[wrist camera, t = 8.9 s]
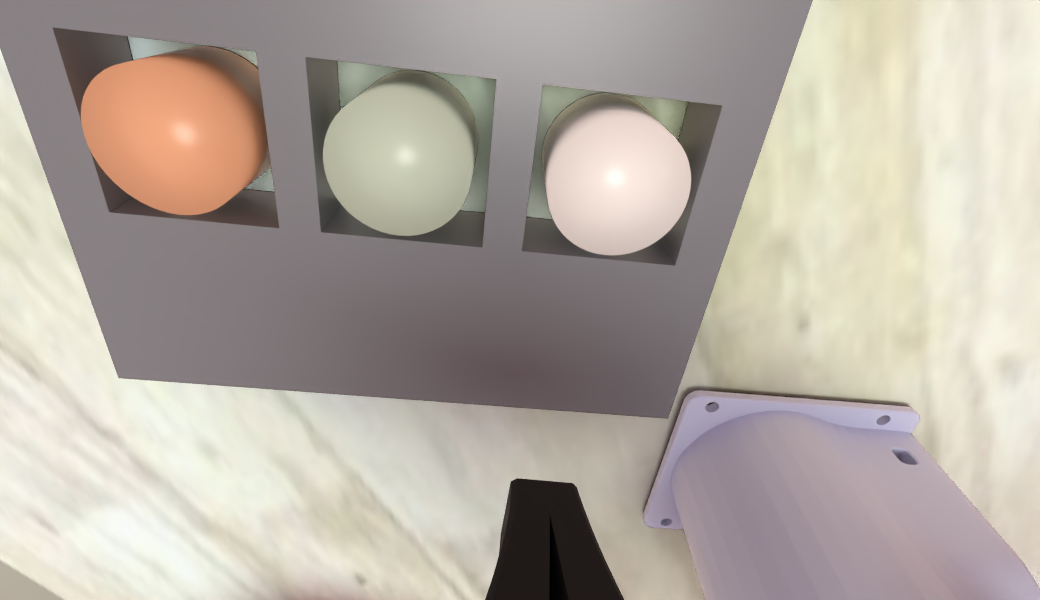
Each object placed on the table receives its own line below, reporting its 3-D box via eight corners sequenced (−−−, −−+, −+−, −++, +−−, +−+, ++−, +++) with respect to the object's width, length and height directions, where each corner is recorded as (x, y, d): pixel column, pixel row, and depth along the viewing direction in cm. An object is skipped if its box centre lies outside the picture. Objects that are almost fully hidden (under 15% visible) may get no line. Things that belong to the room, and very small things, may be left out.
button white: (676, 100, 15) (709, 126, 13) (646, 218, 17) (670, 261, 14) (550, 86, 15) (558, 109, 12) (534, 206, 17) (538, 249, 14)
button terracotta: (279, 54, 14) (229, 71, 12) (294, 182, 16) (253, 221, 14) (140, 38, 14) (58, 52, 12) (171, 170, 16) (106, 208, 13)
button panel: (819, -175, 12) (890, -211, 10) (651, 372, 20) (669, 422, 18) (-22, -307, 11) (-166, -383, 9) (162, 333, 19) (114, 382, 17)
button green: (482, 78, 15) (477, 99, 12) (474, 201, 17) (467, 242, 14) (350, 63, 15) (316, 81, 12) (357, 189, 16) (328, 229, 14)
